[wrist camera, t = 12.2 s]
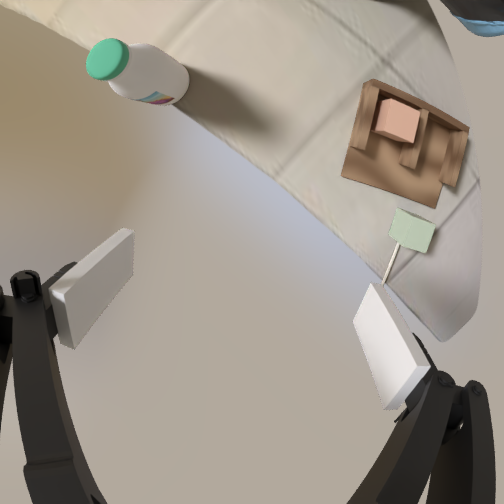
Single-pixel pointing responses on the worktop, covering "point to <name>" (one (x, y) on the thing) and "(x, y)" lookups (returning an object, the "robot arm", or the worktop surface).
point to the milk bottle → (138, 71)
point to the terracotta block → (395, 120)
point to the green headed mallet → (409, 233)
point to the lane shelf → (405, 148)
